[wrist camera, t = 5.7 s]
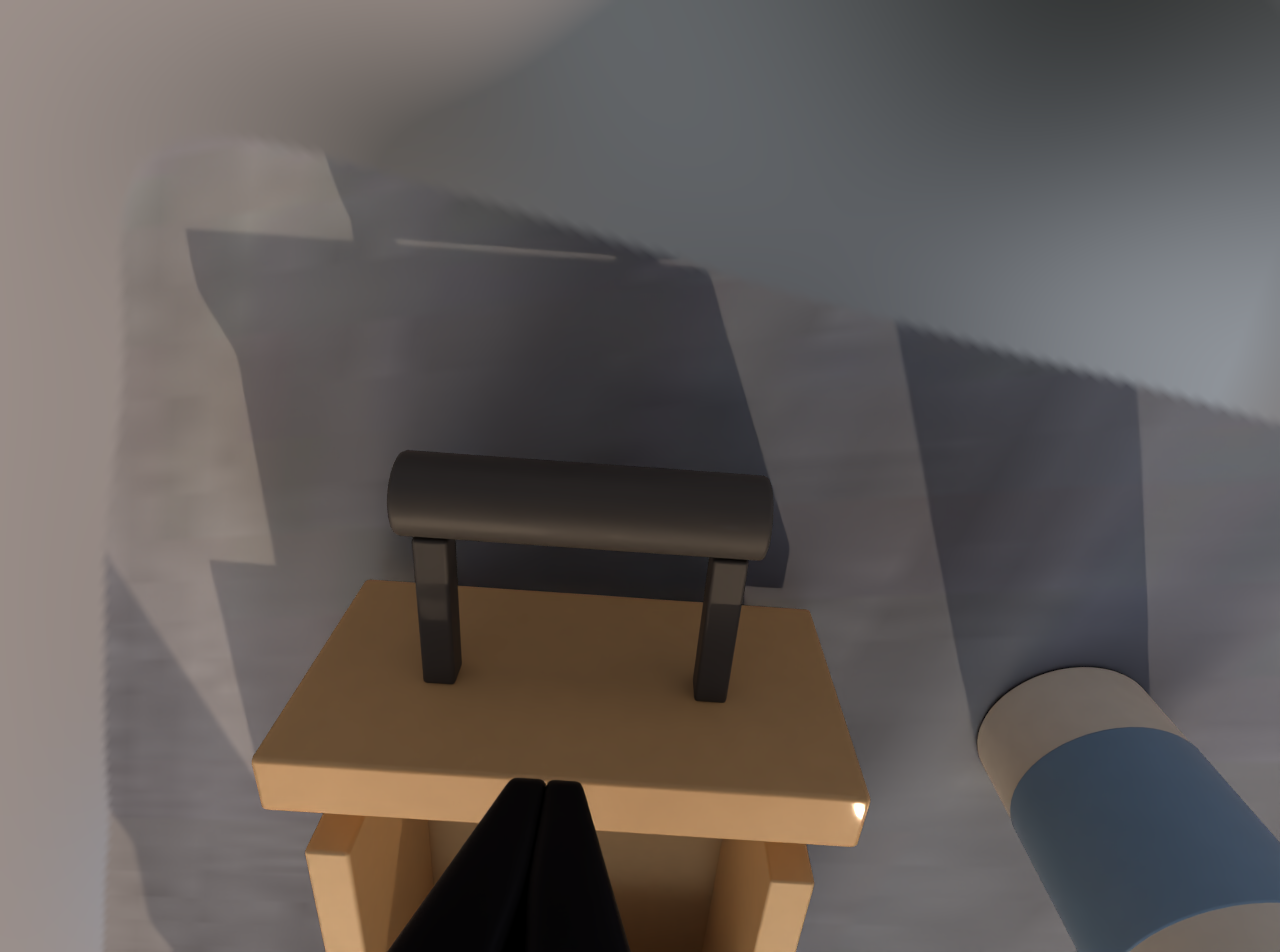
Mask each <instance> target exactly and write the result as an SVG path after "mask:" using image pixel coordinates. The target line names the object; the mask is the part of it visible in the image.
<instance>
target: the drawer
mask: <svg viewBox="0 0 1280 952" xmlns="http://www.w3.org/2000/svg"><path fill="white" fill-rule="evenodd" d="M387 510H388V518H389V522H390V526H391V528H392V530H393V532H394V533H396V534H398V535H400V536H413V539H412V549H413V561H414V573H415V583H413V582H399V581H384V580H367V581H365V583H364V584H363V586H362V587H361V589H360V591H359V592H358V594H357V595H356V597H355V598H354V600H353V601H352V603H351V605H350V606H349V608H348V609H347V611H346V612H345V614H344V615H343V617H342V619H341V620H340V622H339V623H338V625H337V626H336V628H335V630H334V631H333V633H332V634H331V636H330V637H329V639H328V640H327V642H326V644H325V645H324V647H323V648H322V650H321V651H320V653H319V654H318V656H317V658H316V659H315V661H314V662H313V664H312V665H311V667H310V669H309V670H308V672H307V673H306V675H305V676H304V678H303V679H302V681H301V683H300V684H299V686H298V687H297V689H296V690H295V692H294V693H293V695H292V697H291V698H290V700H289V701H288V703H287V704H286V706H285V708H284V709H283V711H282V712H281V714H280V715H279V717H278V718H277V720H276V722H275V723H274V725H273V726H272V728H271V729H270V731H269V732H268V734H267V736H266V737H265V739H264V740H263V742H262V743H261V745H260V747H259V748H258V750H257V751H256V753H255V754H254V756H253V758H252V766H253V770H254V775H255V779H256V783H257V787H258V791H259V796H260V800H261V804H262V807H263V808H265V809H267V810H282V811H298V812H314V813H323V815H322V817H321V819H320V821H319V823H318V825H317V828H316V830H315V832H314V834H313V836H312V838H311V840H310V842H309V844H308V846H307V848H306V850H305V856H306V860H307V865H308V870H309V875H310V880H311V884H312V889H313V894H314V899H315V904H316V908H317V913H318V918H319V923H320V928H321V932H322V937H323V942H324V947H325V952H387V951H388V950H389V948H390V947H391V945H392V944H393V943H394V941H395V940H396V938H397V937H398V936H399V934H400V933H401V931H402V930H403V929H404V927H405V926H406V924H407V923H408V922H409V920H410V919H411V917H412V916H413V915H414V913H415V912H416V910H417V909H418V908H419V906H420V905H421V903H422V902H423V901H424V899H425V898H426V896H427V895H428V894H429V892H430V891H431V889H432V888H433V887H434V885H435V884H436V882H437V881H438V880H439V878H440V877H441V875H442V874H443V873H444V871H445V870H446V868H447V867H448V866H449V864H450V863H451V861H452V860H453V859H454V857H455V856H456V854H457V853H458V852H459V850H460V849H461V847H462V846H463V845H464V843H465V842H466V840H467V839H468V838H469V836H470V835H471V833H472V832H473V831H474V829H475V828H476V826H477V825H478V824H479V822H480V821H481V819H482V818H483V817H484V815H485V814H486V812H487V811H488V810H489V808H490V807H491V805H492V804H493V803H494V801H495V800H496V798H497V797H498V795H499V794H500V793H501V791H502V790H503V788H504V787H505V786H506V784H507V783H508V782H509V781H510V780H511V779H513V778H533V779H541V780H543V781H545V783H546V785H547V783H548V782H549V781H551V780H564V781H577V782H579V783H581V785H582V786H583V789H584V792H585V796H586V799H587V802H588V806H589V809H590V813H591V816H592V820H593V823H594V826H595V830H596V833H597V837H598V840H599V844H600V847H601V851H602V854H603V857H604V861H605V864H606V868H607V871H608V875H609V878H610V881H611V885H612V888H613V892H614V895H615V899H616V902H617V905H618V909H619V912H620V916H621V919H622V923H623V926H624V930H625V933H626V936H627V940H628V943H629V947H630V950H631V952H796V948H797V945H798V941H799V938H800V934H801V930H802V927H803V923H804V920H805V916H806V912H807V909H808V905H809V902H810V898H811V894H812V891H813V887H814V879H813V874H812V870H811V865H810V860H809V856H808V851H807V846H806V844H815V845H830V846H846V847H854V846H856V845H857V843H858V840H859V837H860V833H861V830H862V827H863V824H864V820H865V817H866V814H867V811H868V807H869V804H870V796H869V793H868V790H867V787H866V784H865V781H864V778H863V775H862V771H861V768H860V765H859V762H858V759H857V756H856V753H855V750H854V747H853V744H852V741H851V737H850V734H849V731H848V728H847V725H846V722H845V719H844V716H843V713H842V710H841V706H840V703H839V700H838V697H837V694H836V691H835V688H834V685H833V682H832V679H831V676H830V672H829V669H828V666H827V663H826V660H825V657H824V654H823V651H822V648H821V645H820V642H819V638H818V635H817V632H816V629H815V626H814V623H813V620H812V617H811V614H810V611H809V610H806V609H792V608H777V607H762V606H748V605H742V601H743V595H744V589H745V583H746V576H747V570H748V560H757V561H759V560H762V559H764V557H765V555H766V553H767V551H768V548H769V544H770V539H771V533H772V525H773V493H772V487H771V483H770V480H769V478H768V477H766V476H762V475H748V474H734V473H720V472H706V471H692V470H678V469H664V468H650V467H636V466H622V465H608V464H594V463H580V462H566V461H552V460H538V459H524V458H510V457H496V456H482V455H468V454H454V453H440V452H426V451H412V450H406V451H403V452H401V453H400V454H399V455H398V457H397V458H396V460H395V462H394V465H393V468H392V471H391V474H390V479H389V484H388V493H387ZM455 539H456V540H470V541H485V542H499V543H513V544H528V545H542V546H556V547H571V548H585V549H599V550H614V551H628V552H642V553H657V554H671V555H686V556H700V557H709V562H708V570H707V577H706V585H705V592H704V600H703V602H690V601H675V600H661V599H646V598H632V597H617V596H602V595H588V594H573V593H559V592H544V591H530V590H515V589H501V588H486V587H472V586H458V578H457V559H456V540H455Z"/></svg>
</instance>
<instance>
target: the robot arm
mask: <svg viewBox="0 0 1280 952" xmlns="http://www.w3.org/2000/svg"><path fill="white" fill-rule="evenodd" d="M387 952H631V950H630V947H629V943H628V940H627V936H626V933H625V930H624V926H623V923H622V919H621V916H620V912H619V909H618V905H617V902H616V899H615V895H614V892H613V888H612V885H611V881H610V878H609V875H608V871H607V868H606V864H605V861H604V857H603V854H602V851H601V847H600V844H599V840H598V837H597V833H596V830H595V826H594V823H593V820H592V816H591V813H590V809H589V806H588V802H587V799H586V796H585V792H584V789H583V786H582V785H581V783H579V782H577V781H564V780H551V781H549V782H548V783H547V785H546V783H545V781H543V780H541V779H533V778H513V779H511V780H510V781H509V782H508V783H507V784H506V786H505V787H504V788H503V790H502V791H501V793H500V794H499V795H498V797H497V798H496V800H495V801H494V803H493V804H492V805H491V807H490V808H489V810H488V811H487V812H486V814H485V815H484V817H483V818H482V819H481V821H480V822H479V824H478V825H477V826H476V828H475V829H474V831H473V832H472V833H471V835H470V836H469V838H468V839H467V840H466V842H465V843H464V845H463V846H462V847H461V849H460V850H459V852H458V853H457V854H456V856H455V857H454V859H453V860H452V861H451V863H450V864H449V866H448V867H447V868H446V870H445V871H444V873H443V874H442V875H441V877H440V878H439V880H438V881H437V882H436V884H435V885H434V887H433V888H432V889H431V891H430V892H429V894H428V895H427V896H426V898H425V899H424V901H423V902H422V903H421V905H420V906H419V908H418V909H417V910H416V912H415V913H414V915H413V916H412V917H411V919H410V920H409V922H408V923H407V924H406V926H405V927H404V929H403V930H402V931H401V933H400V934H399V936H398V937H397V938H396V940H395V941H394V943H393V944H392V945H391V947H390V948H389V950H388V951H387Z"/></svg>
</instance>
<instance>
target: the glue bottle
mask: <svg viewBox="0 0 1280 952" xmlns="http://www.w3.org/2000/svg"><path fill="white" fill-rule="evenodd" d="M977 746H978V754H979V758H980V760H981V762H982V764H983V766H984V768H985V770H986V772H987V774H988V776H989V778H990V780H991V782H992V784H993V786H994V787H995V789H996V791H997V793H998V795H999V797H1000V799H1001V801H1002V803H1003V805H1004V807H1005V809H1006V811H1007V813H1008V815H1009V816H1010V818H1011V821H1012V825H1013V827H1014V829H1015V831H1016V833H1017V835H1018V837H1019V839H1020V840H1021V842H1022V844H1023V846H1024V848H1025V850H1026V852H1027V854H1028V856H1029V858H1030V860H1031V862H1032V864H1033V866H1034V868H1035V870H1036V871H1037V873H1038V875H1039V877H1040V879H1041V881H1042V883H1043V885H1044V887H1045V889H1046V891H1047V893H1048V895H1049V897H1050V899H1051V901H1052V902H1053V904H1054V906H1055V908H1056V910H1057V912H1058V914H1059V916H1060V918H1061V920H1062V922H1063V924H1064V926H1065V928H1066V930H1067V932H1068V934H1069V935H1070V937H1071V939H1072V941H1073V943H1074V945H1075V947H1076V949H1077V951H1078V952H1280V842H1279V841H1278V840H1277V839H1276V838H1275V836H1274V835H1273V834H1272V833H1271V832H1270V831H1269V830H1268V828H1267V827H1266V826H1265V825H1264V824H1263V823H1262V822H1261V820H1260V819H1259V818H1258V817H1257V816H1256V815H1255V814H1254V813H1253V811H1252V810H1251V809H1250V808H1249V807H1248V806H1247V805H1246V803H1245V802H1244V801H1243V800H1242V799H1241V798H1240V797H1239V795H1238V794H1237V793H1236V792H1235V791H1234V790H1233V789H1232V787H1231V786H1230V785H1229V784H1228V783H1227V782H1226V781H1225V780H1224V778H1223V777H1222V776H1221V775H1220V774H1219V773H1218V772H1217V770H1216V769H1215V768H1214V767H1213V766H1212V765H1211V764H1210V762H1209V761H1208V760H1207V759H1206V758H1205V757H1204V756H1203V754H1202V753H1201V752H1200V751H1199V750H1198V749H1197V748H1196V747H1195V746H1194V745H1193V744H1191V743H1190V742H1189V741H1188V739H1187V738H1186V737H1185V736H1184V735H1183V734H1182V733H1181V731H1180V730H1179V729H1178V728H1177V727H1176V726H1175V725H1174V723H1173V722H1172V721H1171V720H1170V719H1169V718H1168V717H1167V715H1166V714H1165V713H1164V712H1163V711H1162V710H1161V709H1160V707H1159V706H1158V705H1157V704H1156V703H1155V702H1154V701H1153V700H1152V698H1151V697H1150V696H1149V695H1148V694H1147V693H1146V692H1145V690H1144V689H1143V688H1142V687H1141V686H1140V685H1139V684H1138V683H1136V682H1135V681H1134V680H1132V679H1130V678H1129V677H1127V676H1125V675H1123V674H1120V673H1117V672H1115V671H1111V670H1107V669H1103V668H1095V667H1075V668H1066V669H1061V670H1056V671H1052V672H1048V673H1045V674H1042V675H1040V676H1037V677H1034V678H1032V679H1030V680H1028V681H1026V682H1024V683H1022V684H1020V685H1019V686H1017V687H1015V688H1014V689H1012V690H1011V691H1009V692H1008V693H1007V694H1005V695H1004V696H1003V697H1002V698H1001V699H1000V700H999V701H998V702H997V703H996V704H995V705H994V706H993V707H992V708H991V709H990V711H989V712H988V714H987V715H986V717H985V718H984V720H983V722H982V725H981V727H980V730H979V734H978V741H977Z"/></svg>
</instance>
